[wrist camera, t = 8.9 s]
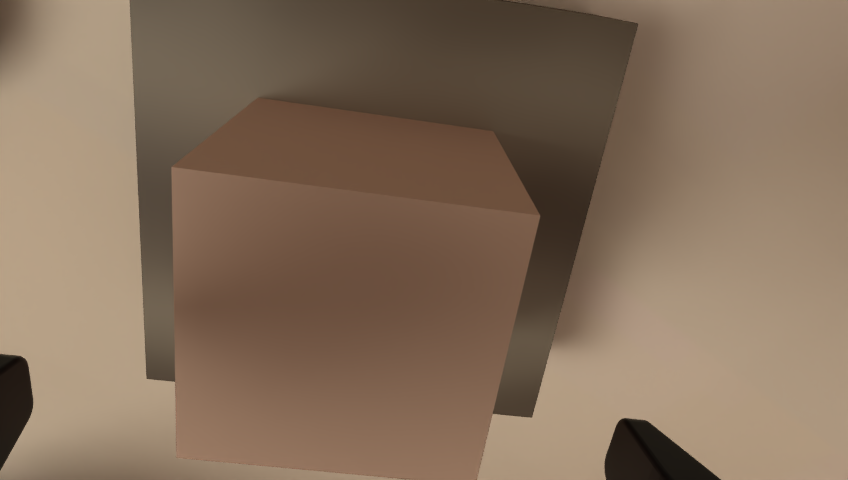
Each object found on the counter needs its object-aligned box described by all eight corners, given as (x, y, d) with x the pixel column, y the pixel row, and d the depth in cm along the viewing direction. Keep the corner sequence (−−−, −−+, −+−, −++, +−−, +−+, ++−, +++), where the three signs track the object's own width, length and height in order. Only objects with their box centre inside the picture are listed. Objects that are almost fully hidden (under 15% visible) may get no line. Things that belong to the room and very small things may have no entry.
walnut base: (512, 347, 23) (531, 417, 19) (189, 311, 22) (146, 378, 18) (591, 14, 18) (638, 23, 15) (186, -50, 17) (126, -57, 14)
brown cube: (454, 329, 18) (475, 485, 12) (249, 305, 17) (176, 457, 12) (493, 131, 16) (540, 215, 10) (257, 97, 15) (171, 167, 10)
